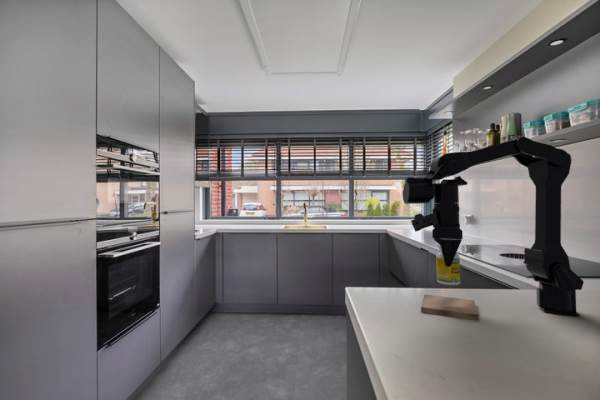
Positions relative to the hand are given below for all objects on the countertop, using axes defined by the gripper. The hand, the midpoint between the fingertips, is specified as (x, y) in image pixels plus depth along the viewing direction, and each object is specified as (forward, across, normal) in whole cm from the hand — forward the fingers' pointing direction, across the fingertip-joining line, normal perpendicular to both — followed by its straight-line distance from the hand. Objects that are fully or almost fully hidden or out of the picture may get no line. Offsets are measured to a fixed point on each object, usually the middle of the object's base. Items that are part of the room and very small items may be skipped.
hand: (448, 264), depth 74 cm
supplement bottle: (+5, 0, 0) cm, 5 cm away
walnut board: (+11, 0, 0) cm, 11 cm away
